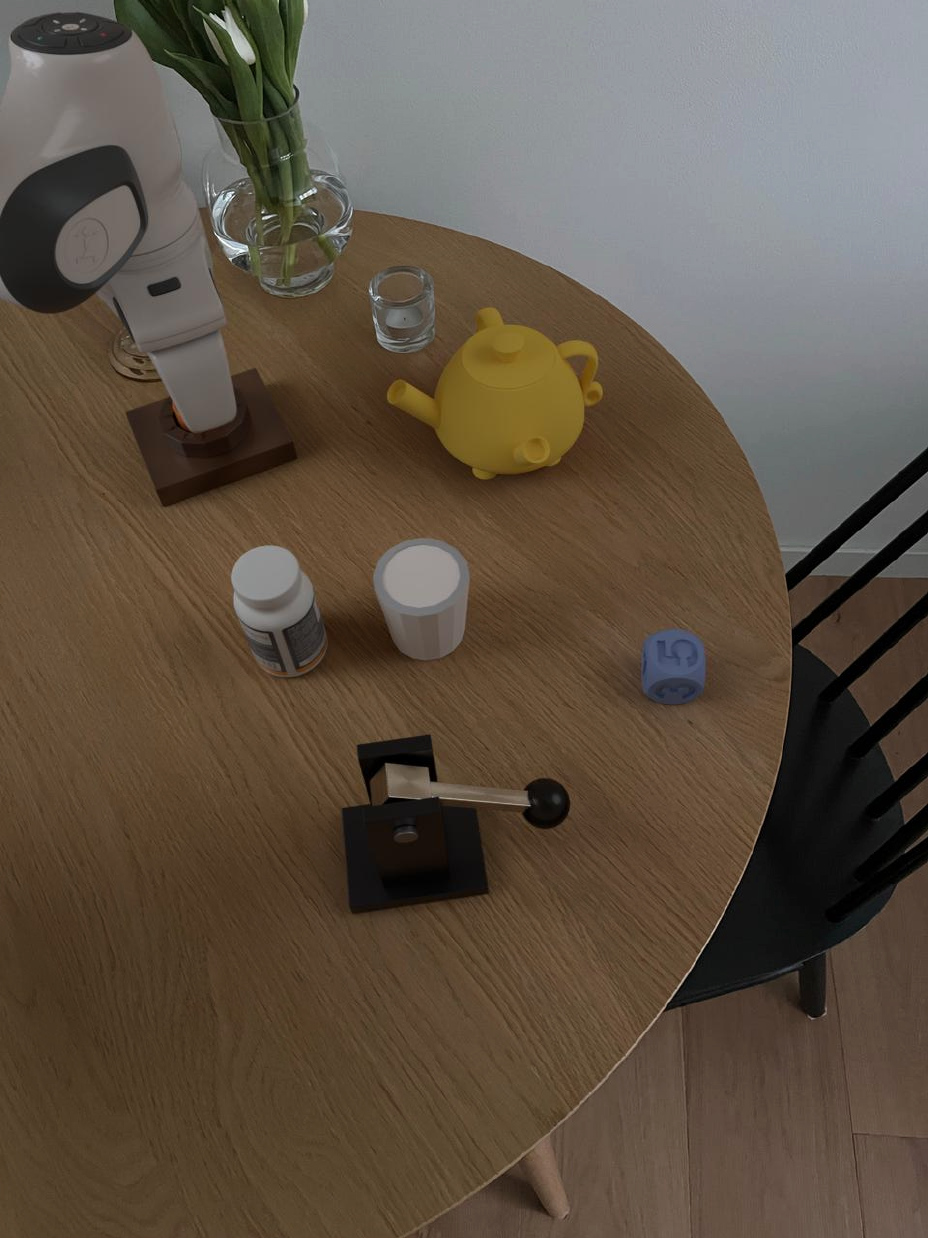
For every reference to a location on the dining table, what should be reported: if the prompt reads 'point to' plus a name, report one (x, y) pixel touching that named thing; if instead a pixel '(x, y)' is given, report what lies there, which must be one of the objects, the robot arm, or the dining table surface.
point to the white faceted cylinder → (423, 596)
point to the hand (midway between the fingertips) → (194, 394)
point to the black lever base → (409, 840)
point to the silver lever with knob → (473, 794)
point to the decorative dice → (673, 666)
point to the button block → (211, 443)
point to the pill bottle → (278, 611)
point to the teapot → (506, 398)
